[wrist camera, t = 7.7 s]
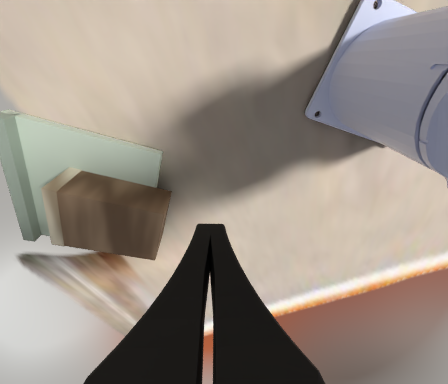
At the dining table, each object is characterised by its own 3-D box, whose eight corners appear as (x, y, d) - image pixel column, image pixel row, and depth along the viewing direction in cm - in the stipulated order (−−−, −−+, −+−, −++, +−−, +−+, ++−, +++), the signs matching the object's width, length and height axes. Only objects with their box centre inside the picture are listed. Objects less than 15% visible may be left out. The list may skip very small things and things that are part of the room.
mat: (163, 151, 18) (158, 159, 17) (147, 247, 25) (142, 259, 24) (8, 109, 16) (-14, 114, 15) (36, 227, 23) (23, 239, 21)
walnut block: (164, 214, 17) (40, 188, 15) (154, 260, 20) (51, 244, 18) (171, 190, 20) (69, 166, 18) (162, 234, 23) (74, 218, 21)
